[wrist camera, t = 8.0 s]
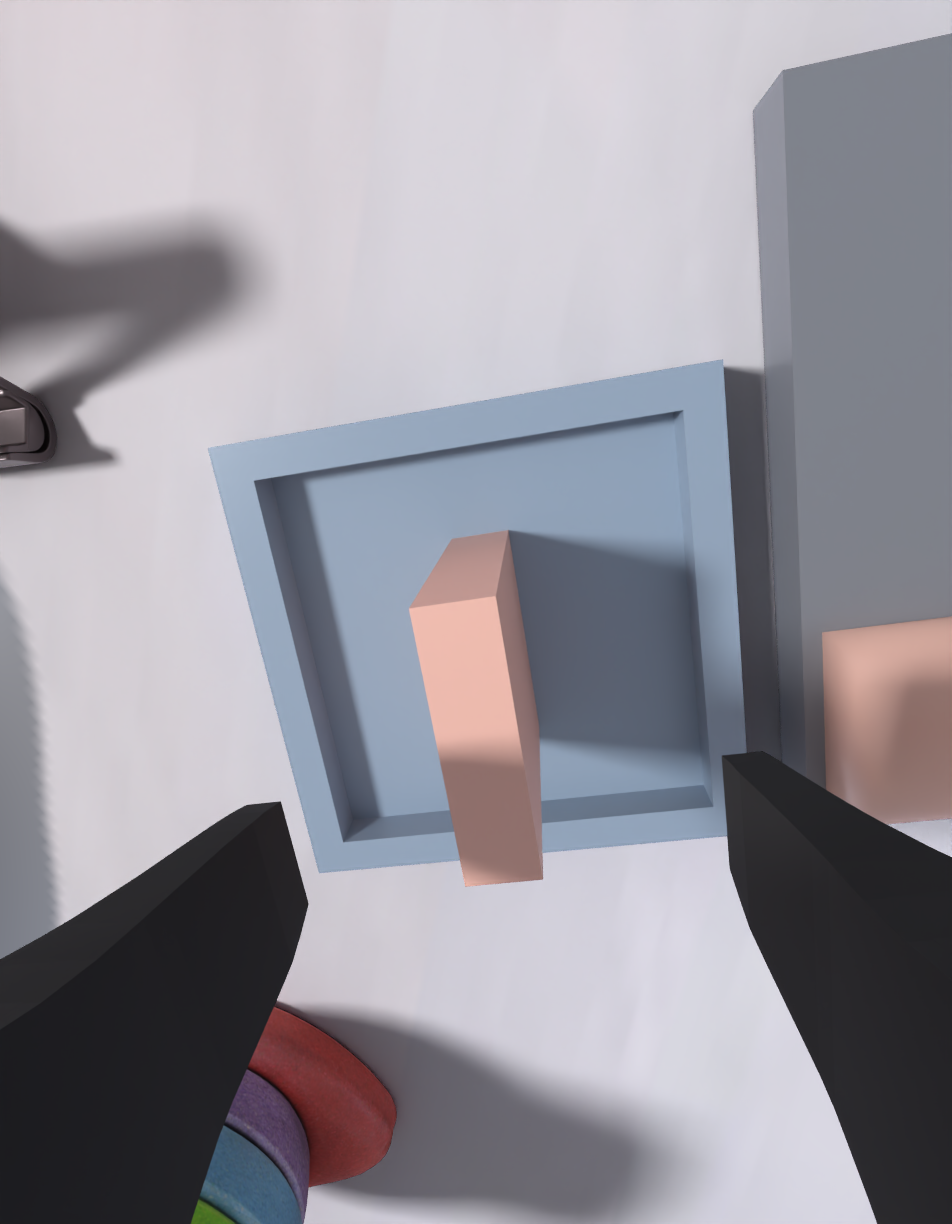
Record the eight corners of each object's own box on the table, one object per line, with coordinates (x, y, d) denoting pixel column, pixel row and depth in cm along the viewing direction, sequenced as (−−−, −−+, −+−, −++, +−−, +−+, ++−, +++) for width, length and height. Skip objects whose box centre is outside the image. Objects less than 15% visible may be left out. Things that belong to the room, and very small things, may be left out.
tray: (733, 799, 21) (751, 833, 20) (334, 838, 23) (319, 873, 21) (704, 364, 18) (723, 359, 16) (236, 444, 19) (207, 447, 18)
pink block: (539, 726, 20) (542, 879, 14) (486, 732, 21) (465, 886, 14) (508, 529, 19) (495, 595, 12) (451, 539, 19) (408, 608, 12)
